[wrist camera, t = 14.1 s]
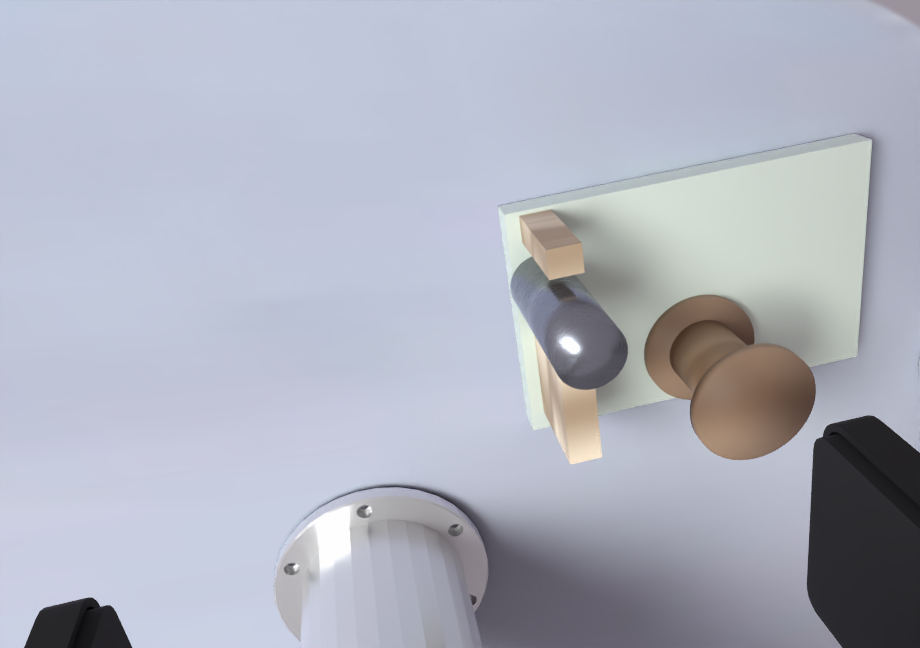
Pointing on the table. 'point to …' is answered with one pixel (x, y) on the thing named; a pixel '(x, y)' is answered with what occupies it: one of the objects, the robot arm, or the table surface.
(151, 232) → the table surface
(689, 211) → the base board
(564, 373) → the peg
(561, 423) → the notched rail
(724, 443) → the bobbin
